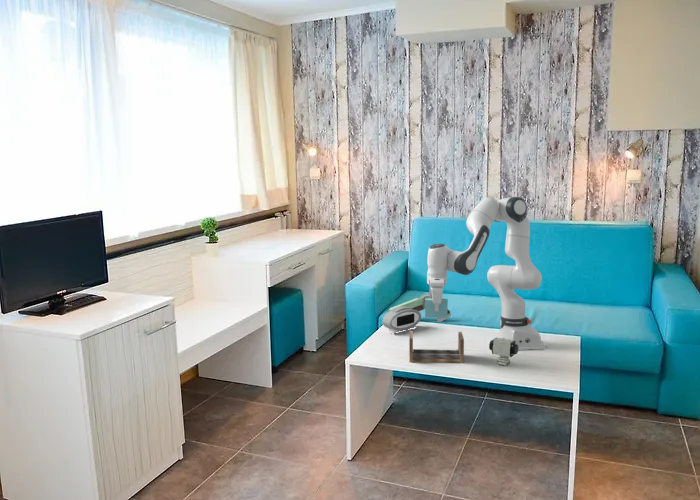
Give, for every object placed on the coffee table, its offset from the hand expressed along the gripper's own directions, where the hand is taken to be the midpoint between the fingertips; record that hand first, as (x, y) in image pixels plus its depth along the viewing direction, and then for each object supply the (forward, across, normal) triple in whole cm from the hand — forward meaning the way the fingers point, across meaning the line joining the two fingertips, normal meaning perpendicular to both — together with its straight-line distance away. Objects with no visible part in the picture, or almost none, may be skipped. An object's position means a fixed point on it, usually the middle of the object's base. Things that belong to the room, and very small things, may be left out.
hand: (436, 309), depth 271 cm
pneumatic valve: (+22, +8, +29) cm, 38 cm away
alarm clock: (+22, -44, -17) cm, 52 cm away
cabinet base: (+22, +2, 0) cm, 22 cm away
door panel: (+3, 0, 0) cm, 3 cm away
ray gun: (+21, -66, -8) cm, 70 cm away
